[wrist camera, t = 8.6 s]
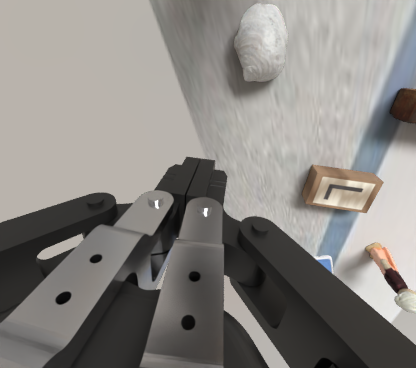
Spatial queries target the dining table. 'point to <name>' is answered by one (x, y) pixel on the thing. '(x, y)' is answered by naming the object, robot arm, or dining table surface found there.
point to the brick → (405, 106)
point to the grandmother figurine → (393, 277)
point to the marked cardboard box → (341, 188)
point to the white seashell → (261, 43)
